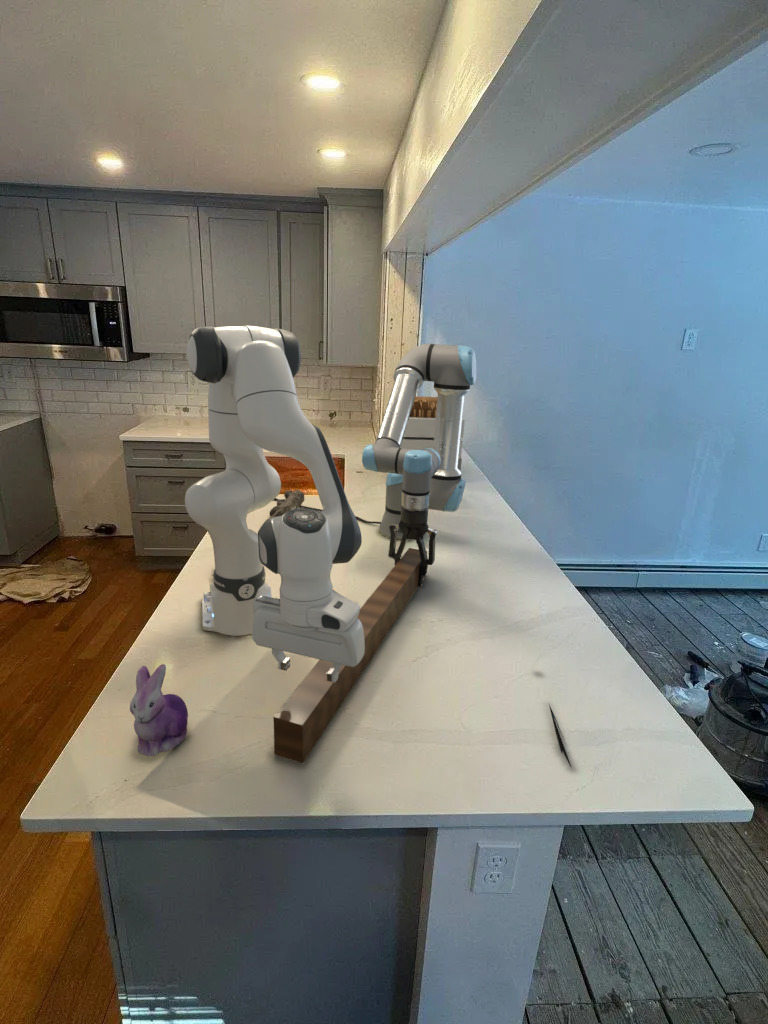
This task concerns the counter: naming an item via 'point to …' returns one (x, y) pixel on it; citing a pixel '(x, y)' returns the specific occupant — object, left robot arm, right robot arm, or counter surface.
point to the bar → (343, 666)
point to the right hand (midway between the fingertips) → (409, 582)
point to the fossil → (287, 503)
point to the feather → (559, 735)
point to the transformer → (424, 426)
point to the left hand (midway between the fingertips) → (308, 674)
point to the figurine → (157, 714)
